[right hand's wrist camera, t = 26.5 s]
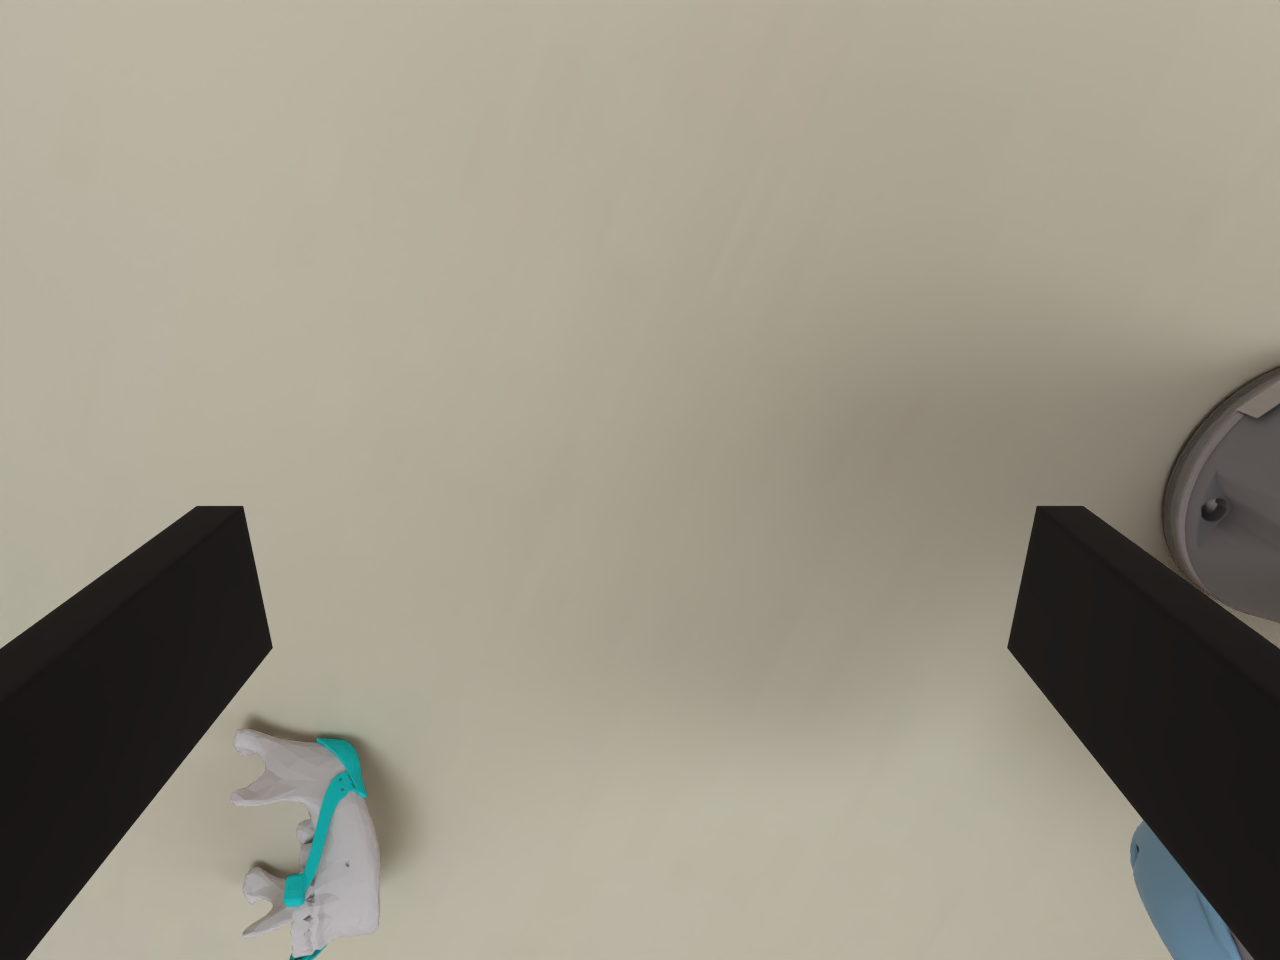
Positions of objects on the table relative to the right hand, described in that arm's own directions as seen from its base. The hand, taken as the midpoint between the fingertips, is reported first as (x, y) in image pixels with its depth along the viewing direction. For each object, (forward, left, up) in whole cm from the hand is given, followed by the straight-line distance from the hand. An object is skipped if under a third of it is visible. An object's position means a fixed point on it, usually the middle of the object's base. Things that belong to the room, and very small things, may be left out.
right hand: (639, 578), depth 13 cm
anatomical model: (-6, +39, -29) cm, 49 cm away
